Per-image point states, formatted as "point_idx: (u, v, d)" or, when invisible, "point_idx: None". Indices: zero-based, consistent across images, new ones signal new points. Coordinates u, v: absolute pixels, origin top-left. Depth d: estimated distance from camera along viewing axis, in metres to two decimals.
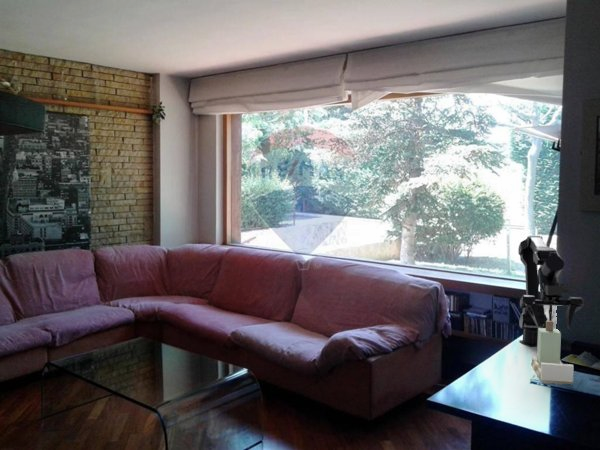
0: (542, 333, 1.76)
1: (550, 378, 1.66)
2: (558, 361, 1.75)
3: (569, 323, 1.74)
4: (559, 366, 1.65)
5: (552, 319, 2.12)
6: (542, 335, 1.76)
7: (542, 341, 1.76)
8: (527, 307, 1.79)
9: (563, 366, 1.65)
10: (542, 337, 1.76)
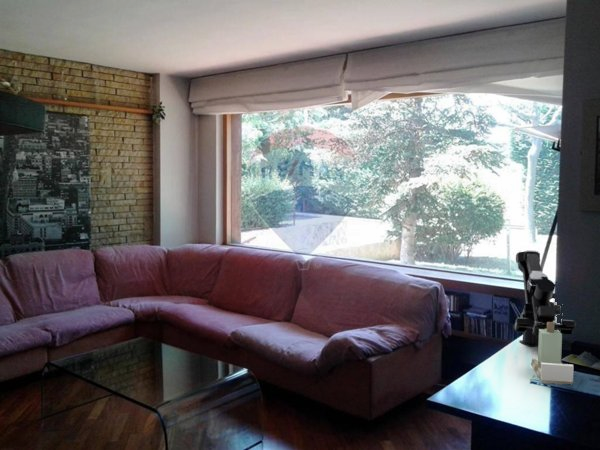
0: (543, 334, 1.74)
1: (550, 378, 1.66)
2: (559, 362, 1.74)
3: None
4: (559, 366, 1.65)
5: None
6: (543, 336, 1.74)
7: (543, 342, 1.75)
8: (535, 330, 1.84)
9: (563, 366, 1.65)
10: (543, 338, 1.74)
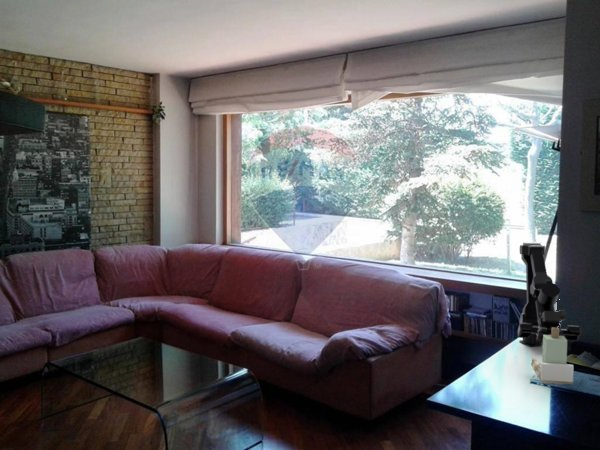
0: (547, 340, 1.68)
1: (550, 378, 1.66)
2: None
3: None
4: (559, 366, 1.65)
5: None
6: (547, 342, 1.68)
7: (547, 349, 1.68)
8: (539, 336, 1.78)
9: (563, 366, 1.65)
10: (547, 344, 1.68)
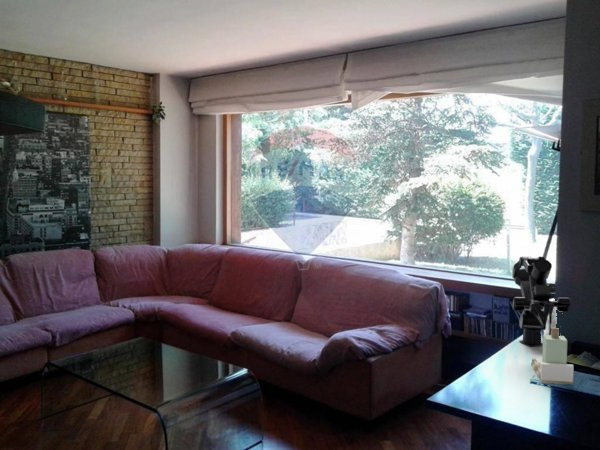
0: (547, 340, 1.68)
1: (550, 378, 1.66)
2: None
3: (545, 321, 1.86)
4: (559, 366, 1.65)
5: (552, 319, 2.12)
6: (547, 342, 1.68)
7: (547, 349, 1.68)
8: (532, 308, 1.91)
9: (563, 366, 1.65)
10: (547, 344, 1.68)
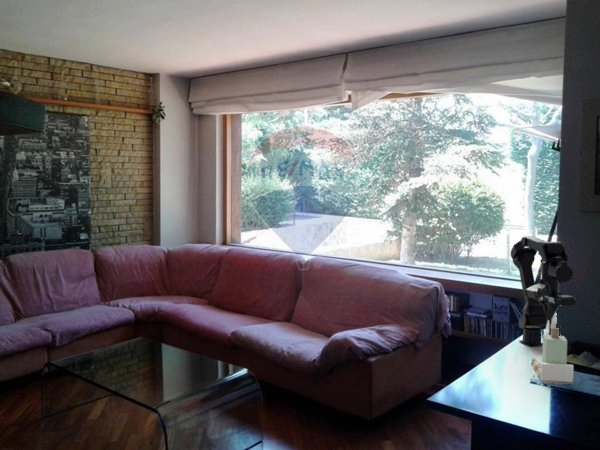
0: (547, 340, 1.68)
1: (550, 378, 1.66)
2: None
3: (547, 316, 1.91)
4: (559, 366, 1.65)
5: (552, 319, 2.12)
6: (547, 342, 1.68)
7: (547, 349, 1.68)
8: None
9: (563, 366, 1.65)
10: (547, 344, 1.68)
